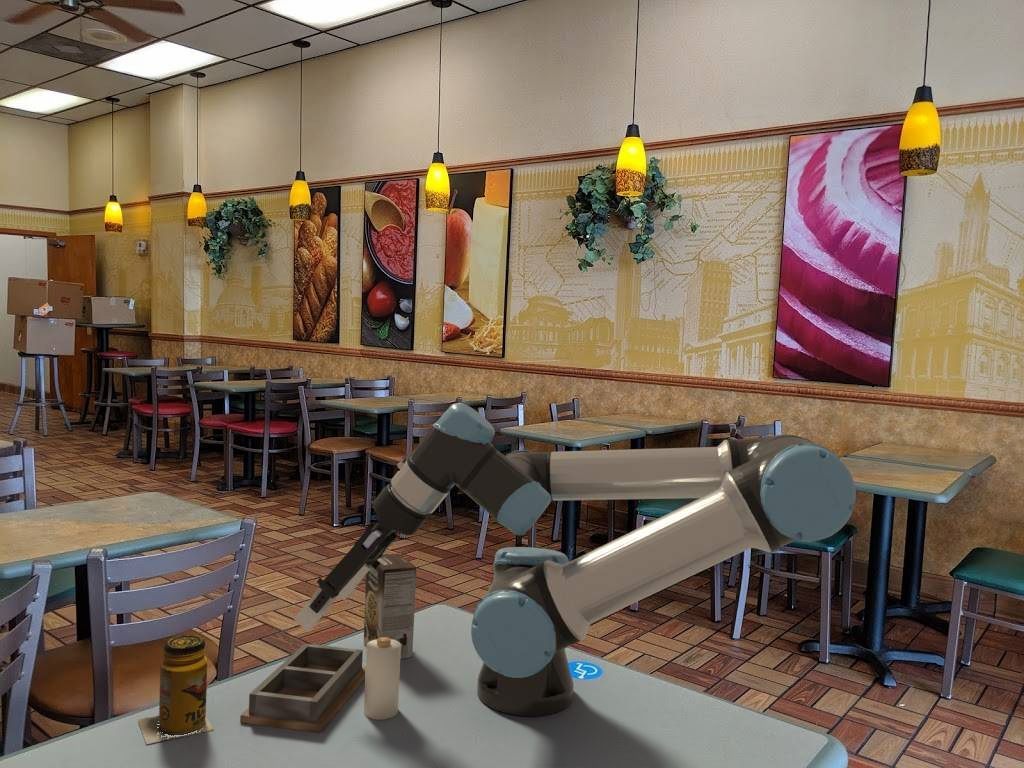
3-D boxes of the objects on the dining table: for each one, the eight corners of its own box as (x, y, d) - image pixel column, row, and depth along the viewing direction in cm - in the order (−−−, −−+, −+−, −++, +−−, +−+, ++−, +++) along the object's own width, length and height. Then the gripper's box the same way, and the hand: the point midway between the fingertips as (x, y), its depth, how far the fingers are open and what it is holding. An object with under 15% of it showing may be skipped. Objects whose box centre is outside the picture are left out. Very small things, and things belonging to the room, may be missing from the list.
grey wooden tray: (368, 673, 129) (369, 649, 128) (321, 732, 109) (322, 704, 109) (299, 665, 130) (300, 641, 130) (240, 722, 111) (241, 694, 110)
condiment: (213, 730, 108) (215, 645, 107) (146, 745, 103) (148, 656, 103) (201, 708, 114) (203, 627, 113) (137, 721, 109) (139, 637, 109)
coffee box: (361, 643, 141) (365, 554, 140) (395, 638, 144) (399, 551, 143) (378, 662, 133) (381, 569, 132) (413, 657, 136) (417, 565, 135)
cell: (402, 705, 118) (405, 635, 117) (392, 721, 113) (395, 648, 112) (370, 701, 119) (373, 631, 118) (358, 717, 114) (361, 644, 113)
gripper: (413, 468, 124) (334, 568, 127) (359, 498, 99) (262, 621, 102) (449, 498, 123) (369, 598, 126) (404, 536, 99) (305, 659, 101)
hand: (321, 609), depth 114 cm, fingers open, 13 cm apart
